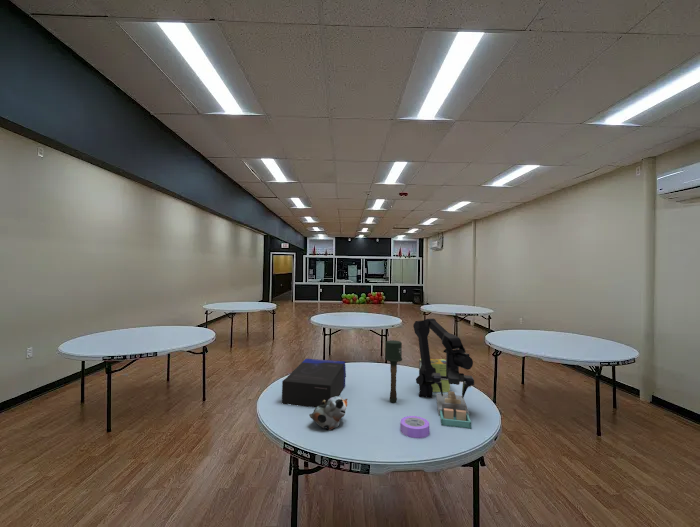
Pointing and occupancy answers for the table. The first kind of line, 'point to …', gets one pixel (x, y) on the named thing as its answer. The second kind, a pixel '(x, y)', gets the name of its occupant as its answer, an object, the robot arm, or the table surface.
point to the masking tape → (414, 427)
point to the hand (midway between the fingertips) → (452, 397)
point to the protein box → (440, 368)
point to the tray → (456, 422)
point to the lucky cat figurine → (329, 412)
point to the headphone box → (314, 382)
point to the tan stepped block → (453, 402)
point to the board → (442, 399)
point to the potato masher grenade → (393, 364)
